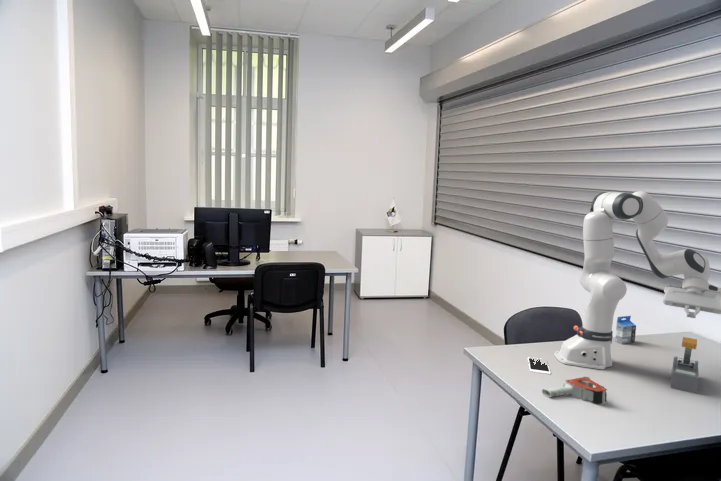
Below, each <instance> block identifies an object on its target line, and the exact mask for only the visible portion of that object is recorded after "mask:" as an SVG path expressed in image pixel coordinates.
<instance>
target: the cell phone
mask: <svg viewBox="0 0 721 481" xmlns="http://www.w3.org/2000/svg"><path fill="white" fill-rule="evenodd" d="M527 357H528V358H527V363H528V362H529V364H528V369H530V370H529V372H531V371H532V372H531V373H537V372H539V373H538V374H544V373H546V375H551V369H550V366H547V365H545V363H544V364H542V365H541V362H540V359H541V358H540V359H538V357H536V358H537V359H538V360H539V361H538V360H537V361H538V362H537V361H536V364H535V365H534V363H533V362H535V361H534V359H533V360H532V358H530V356H527Z"/></svg>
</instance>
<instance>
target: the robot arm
mask: <svg viewBox="0 0 721 481" xmlns="http://www.w3.org/2000/svg"><path fill="white" fill-rule="evenodd" d="M590 204H591V205H590V209H589V213H587V214H586V215H585V216H584V218H583V224H582V226H583V227H582V237H583V239H582V242H583V254H584V260H583V266H582V267H583V268H582V271H581V273H580V275H579V283H580V285H581V286H582V288H583V289H584V290H585V291H586V292H588V293H590V294H591V297H590V299H589V302H588V304H587V306H585V308H584V309H583V318H582V325H581V327H580V326H578V325H574V326H573V330H574V331H576V334H575V335H574V336H572V337H569V338H567V339H566V340H564V341H563V342H562V343H561V346H560V350H555V351H554V353H553V354H554V355H555V356H554V358H555V359H557V361H559V362H560V363H561V364H564V365H569V366H575V367H580V368H581V367H583V368H589V369H597V370H606V368H610V367H612V366H613V359H612V348H611V347H612V346H611V345H612V342H613V333H614V331H613V322H614V316H615V312H616V308H617V307H618V305H619V303H620V301H621V300H622V299H623V298H624V297H625V296H626V294H627V289H628V288H627V285H626V283H625V282H624V281H623V279H622V278H620V277H619V276H618V275H616V274H614V273H612V272H611V264H612V261H613V259H614V257H615V254H616V253H615V242H614V231H613V226H614V222H615V221H616V220H622V221H623V220H624V221H626V220H630V219H632V221H633V222H634V223H635V224H636V226H637V229H636V231H635V236H636V239H637V242H638V244H639V247H640V248H641V250H642V252H643V254H644V255H645V257H646V259H647V262H648V264H649V268H650V270H651V272H652V274H653V275H655V276H656V277H657V278H660V279H664V280H665V279H667V278H668V279H669V278H671V277H673V276H678V275H683V277H684V278H683V279H682V283H681V286H678V285H677V286H676V285H672V284H671V285H667V286H665V287H664V289H663V292H664V295H663V301H662V303H663V304H664V305H665V306H669V307H677V308H682V309H684V312H685V314H686V318H691V319H696V317H697V315H698V314H699V313H700V312H704V313H705V312H706V313H712V314H717V315H721V287H719V286H716V285H713V284H711V283H709V278H710V272H711V268H710V267H711V266H710V262H709V258H707V257H706V256H705V255H703V254H700V253H699V252H697V251H695V250H694V249H691V248H686V249H681V250H677V251H673V252H669V253H664V254H663V253H660V252H659V251H658V248H657V246H656V244H655V242H654V238H656V237H657V236H659V235H660V234H662V232H664V230H665V229H666V228H667V226H668V223H669V217H668V214H667V213H666V211H665V210H664V208H662V206H661V205H660V203H659V202H658V201H657V200H655V198H654V197H653V196H651V195H650V194H649V193H648V192H647V191H643V190H637V191H635V192H633V193H630V192H619V191H604V192H600V193H598V194H596V195H595V196H594V197H593V199H592V202H591V203H590ZM690 310H693V311H690Z"/></svg>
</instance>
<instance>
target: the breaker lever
mask: <svg viewBox="0 0 721 481" xmlns="http://www.w3.org/2000/svg"><path fill="white" fill-rule="evenodd" d="M697 346H698V339H696V338H691V337H687V336H682V342H681V347H682V348H684V353H683V354H684V355H683V358H682V359H683V361H682V360H678V365H681V366H686V367H690V368H694V363H692V362H690V360H691V357H692V350H697V348H698V347H697Z"/></svg>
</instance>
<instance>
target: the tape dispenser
mask: <svg viewBox="0 0 721 481" xmlns="http://www.w3.org/2000/svg"><path fill="white" fill-rule="evenodd" d="M562 384H563V386H556V387H550V388H545V387H544V388H542V389H541V393H542V395H544V396H545V397H547V398H549V399H550V398H553V397H557V396H563V395H567V394H568V395H570V396H571V397H573V398H576V399H580V400H582V401H588V400H589V401H591V402H592V403H593V404H594V405H595V404H596V405H608V402H607V401H608V400H607V395H608V394H607V391H608V389H607V388H606V387H605V386H604V385H601V384H600V383H598V382H595V381H594V380H591V378H590V377H589V376H586V375H585V376H581V377H575V378H572V379H566V380H565V382H563V383H562ZM594 386H595V387H594Z"/></svg>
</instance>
